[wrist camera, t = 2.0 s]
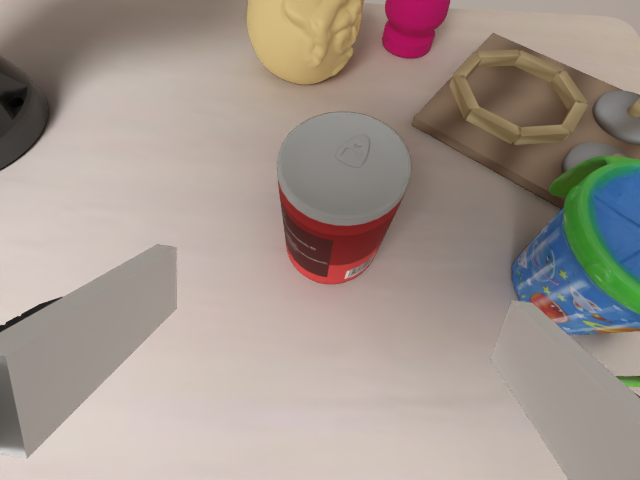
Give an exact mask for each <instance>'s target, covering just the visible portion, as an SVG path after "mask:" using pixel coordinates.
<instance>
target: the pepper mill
mask: <svg viewBox="0 0 640 480" xmlns="http://www.w3.org/2000/svg"><path fill="white" fill-rule="evenodd" d="M449 4H450V0H386V4H385V12H386V15H387V18H388V20H389V21H388V22H387V23H386V24H385V28H384V33H383V38H382V41H383V45H384V47H385V48H386V49H387V50H388V51H389V52H391V53H392V54H394V55H397V56H399V57H403V58H417V57H421V56H423V55H425V54H426V53H427V52H428V51H429V50H430V48H431V45H432V42H433V39H434V36H435V31H434V29H436V28H437V27H438V26H439V25H441V24H442V22H443V21H444V20H445V18H446V15H447V12H448V8H449Z"/></svg>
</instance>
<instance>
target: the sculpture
mask: <svg viewBox="0 0 640 480" xmlns="http://www.w3.org/2000/svg"><path fill="white" fill-rule="evenodd" d="M363 2H364V0H249V1H248V7H247V28H248V34H249V38H250V41H251V44H252V46H253V49H254V51H255V53H256V55H257V56H258V58H259V60H260V61H261V62H262V64H263V65H264V66H265V67H266V68H267V69H268V70H269V71H270V72H271V73H273V74H274V75H276V76H278V77H279V78H281V79H283V80H286V81H289V82H292V83H296V84H315V83H318V82H321V81H323V80H325V79H327V78H329V77H331V76H335V75H336V74H337V73H338V72H339V71H340V70H341V69H342V68H343V67H344V66H345V64H346V63H347V62H348V61H349V59H350V57H351V56H352V54H353V47H352V46H353V44H354V43H355V41H356V38H357V36H358V33H359V30H360V26H361V21H362V6H363Z"/></svg>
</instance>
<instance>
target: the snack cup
mask: <svg viewBox="0 0 640 480" xmlns="http://www.w3.org/2000/svg"><path fill="white" fill-rule="evenodd" d="M549 191H550V193H551V194H552V195H555V196H562V197H566V199H565V203H564V207H563V208H562V209H561V210H560V211H559V212H558V213H557V214H556V215H555V216H554V217H553V218H552V220H551V221H550V223H549V224H547V225H546V226H545V227H544V228H543V229H542V230H541V231H540V232H539V233H538V235H537V236H536V237H535V238H534V239H533V240H532V242H531V243H530V244H529V245H528V246H527V247H526V248H525V249H524V251H523V252H522V253H521V254H520V255H519V257H518V258H517V260H516V261H515V262H514V264H513V266H512V269H513V278H512V281H513V284H514V288H515V290H516V292H517V295H518V297H519V300H520V301H523V302H530V303H533V304H534V305H535V306H536V307H537V308H539V309H540V310H541V311H542V312H543V313H544V314H545V315H546V316H548V317H549V318H550V319H551V320H552V321H553V322H554V323H556V324H557V325H558V326H559V327H560V328H561V329H562V330H563V331H565V332H566V333H567V334H594V333H616V332H632V331H640V160H639V159H632V158H625V157H617V156H596V157H593V158H590V159H588V160H586V161H583V162H581V163H579V164H578V165H576V166H575V167H573V168H571V169H569V170H568V171H567V172H565V173H563V174H562V175H561V176H559V177H558V178H557V179H555V180H554V182H553V183H552V184H551V186H550V188H549ZM615 377H617V378H618V379H619V380H620V381H621V382H622V383H623V384H625V385H626V386H631V387H640V376H629V377H625V376H615Z"/></svg>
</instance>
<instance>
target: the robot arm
mask: <svg viewBox="0 0 640 480" xmlns="http://www.w3.org/2000/svg"><path fill="white" fill-rule="evenodd" d="M47 118H48V104H47V101H46V98H45V97H44V95H43V94H42V92H41V91H40V90H39V89H38V88H37V87H36V85H35V84H34V83H33V82H32V81H31V80H30V78H29V77H28V76H27V75H26V74H25V73H23V72H22V71H21V70H20V69H19V68H17V67H16V66H14V65H13V64H11V63H10V62H9V61H7V60H6V59H4V58H3V57H1V56H0V169H1V168H3V167H5V166H6V165H8V164H9V163H11V162H12V161H14V160H15V159H17V158H18V157H19V156H20V155H22V154H23V153H24V152H25V151H26V150H27V149H28V148H29V147H30V146H31V145H32V144H33V143H34V142H35V141H36V139H37V138H38V137H39V135H40V134H41V132H42V131H43V129H44V127H45V124H46V121H47ZM176 309H177V277H176V247H172V246H165V245H159V244H157V245H155V246H154V247H152V248H150V249H148V250H146V251H145V252H143V253H141V254H139V255H137V256H136V257H134V258H132V259H130V260H129V261H127V262H125V263H123V264H121V265H120V266H118V267H116V268H114V269H113V270H111V271H109V272H107V273H105V274H104V275H102V276H100V277H98V278H96V279H95V280H93V281H91V282H89V283H88V284H86V285H84V286H82V287H80V288H79V289H77V290H75V291H73V292H72V293H70V294H68V295H66V296H64V297H60V298H57V299H54V300H51V301H48V302H45V303H42V304H39V305H37V306H36V307H34V308H32V309H30V310H28V311H26V312H24V313H23V314H21V316H17V317H15V318H13V319H12V320H10V321H8V322H6V324H5V325H0V454H4V455H9V456H15V457H20V458H26V459H27V458H28V457H29V456H30V455H31V454H32V453H33V452H34V451H35V450H36V449H37V448H38V447H39V446H40V445H41V444H42V443H43V442H44V441H45V440H46V439H47V438H48V437H49V436H50V435H51V434H52V433H53V432H54V431H55V430H56V429H57V428H58V427H59V426H60V425H61V424H62V423H63V422H64V421H65V420H66V419H67V418H68V417H69V416H70V415H71V414H72V413H73V412H74V411H75V410H76V409H77V408H78V407H79V406H80V405H81V404H82V403H83V402H84V401H85V400H86V399H87V398H88V397H89V396H90V395H91V394H92V393H93V392H94V391H95V390H96V389H97V388H98V387H99V386H100V385H101V384H102V383H103V382H104V381H105V380H106V379H107V378H108V377H109V376H110V375H111V374H112V373H113V372H114V371H115V370H116V369H117V368H118V367H119V366H120V365H121V364H122V363H123V362H124V361H125V360H126V359H127V358H128V357H129V356H130V355H131V354H132V353H133V352H134V351H135V350H136V349H137V348H138V347H139V346H140V345H141V344H142V343H143V342H144V341H145V340H146V339H147V338H148V337H149V336H150V335H151V334H152V333H153V332H154V331H155V330H156V329H157V328H158V327H159V326H160V325H161V324H162V323H163V322H164V321H165V320H166V319H167V318H168V317H169V316H170V315H171V314H172V313H173V312H174V311H175V310H176ZM490 360H491V361H492V363H493V365H494V366H495V368H496V369H497V371H498V372H499V374H500V375H501V377H502V378H503V380H504V381H505V383H506V384H507V386H508V388H509V389H510V391H511V392H512V394H513V395H514V397H515V398H516V400H517V401H518V403H519V404H520V406H521V407H522V409H523V411H524V412H525V414H526V415H527V417H528V418H529V420H530V421H531V423H532V424H533V426H534V427H535V429H536V430H537V432H538V434H539V435H540V437H541V438H542V440H543V441H544V443H545V444H546V446H547V447H548V449H549V450H550V452H551V453H552V455H553V457H554V458H555V460H556V461H557V463H558V464H559V466H560V467H561V469H562V470H563V472H564V473H565V475H566V476H567V478H568V480H640V396H638V395H637V394H635V393H634V392H632V391H631V390H630V389H629V388H628V387H627V386H626V385H625V384H623V383H622V382H621V381H620V380H619V379H618V378H617V377H615V376H614V375H613V374H612V373H611V372H610V371H609V370H608V369H606V368H605V367H604V366H603V365H602V364H601V363H600V362H599V361H597V360H596V359H595V358H594V357H593V356H592V355H591V354H589V353H588V352H587V351H586V350H585V349H584V348H583V347H582V346H580V345H579V344H578V343H577V342H576V341H575V340H574V339H572V338H571V337H570V336H569V335H568V334H567V333H566V332H565V331H563V330H562V329H561V328H560V327H559V326H558V325H557V324H556V323H554V322H553V321H552V320H551V319H550V318H549V317H548V316H546V315H545V314H544V313H543V312H542V311H541V310H540V309H539V308H537V307H536V306H535V305H534V304H533V303H530V302H523V301H517V300H512V301H511V304H510V306H509V309H508V312H507V315H506V317H505V320H504V323H503V326H502V328H501V331H500V334H499V337H498V340H497V342H496V345H495V348H494V351H493V353H492V356H491V359H490Z"/></svg>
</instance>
